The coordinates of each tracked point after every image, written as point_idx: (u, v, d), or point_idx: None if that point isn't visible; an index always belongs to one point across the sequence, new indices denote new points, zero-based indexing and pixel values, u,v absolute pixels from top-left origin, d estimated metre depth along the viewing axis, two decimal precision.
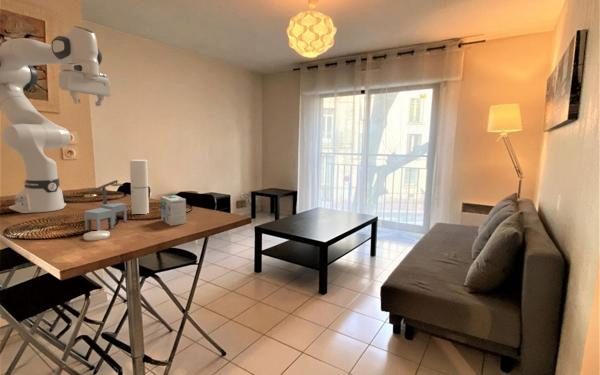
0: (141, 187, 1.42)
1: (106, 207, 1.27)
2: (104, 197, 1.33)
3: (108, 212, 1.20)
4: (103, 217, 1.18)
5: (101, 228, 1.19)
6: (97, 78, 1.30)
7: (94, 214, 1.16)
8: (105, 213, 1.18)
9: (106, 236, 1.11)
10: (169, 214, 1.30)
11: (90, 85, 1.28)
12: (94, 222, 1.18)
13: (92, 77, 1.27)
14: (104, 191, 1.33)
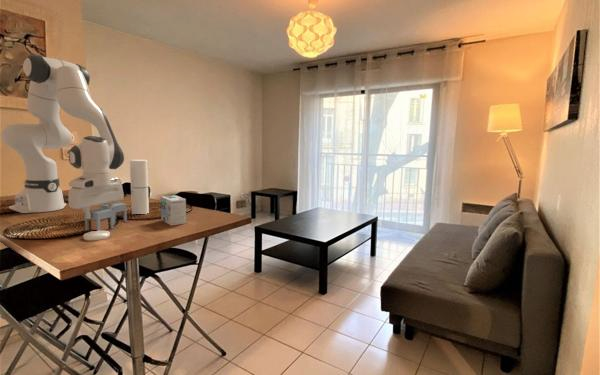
0: (141, 187, 1.42)
1: (106, 207, 1.27)
2: None
3: (108, 212, 1.20)
4: (103, 217, 1.18)
5: (101, 228, 1.19)
6: (109, 186, 1.21)
7: (94, 214, 1.16)
8: (105, 213, 1.18)
9: (106, 236, 1.11)
10: (169, 214, 1.30)
11: (101, 196, 1.18)
12: (94, 222, 1.18)
13: (104, 188, 1.17)
14: None
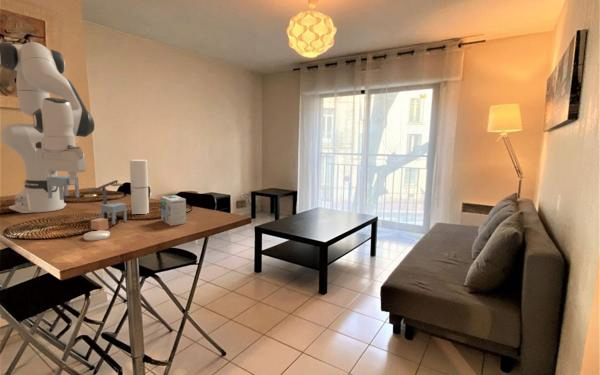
0: (141, 187, 1.42)
1: (106, 207, 1.27)
2: (104, 197, 1.33)
3: (55, 180, 1.10)
4: (51, 184, 1.11)
5: (101, 228, 1.19)
6: (62, 152, 1.09)
7: None
8: (53, 180, 1.10)
9: (106, 236, 1.11)
10: (169, 214, 1.30)
11: (56, 161, 1.10)
12: (94, 222, 1.18)
13: (51, 153, 1.09)
14: (104, 191, 1.33)
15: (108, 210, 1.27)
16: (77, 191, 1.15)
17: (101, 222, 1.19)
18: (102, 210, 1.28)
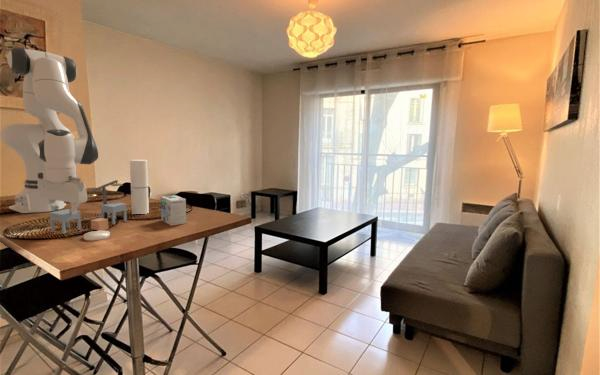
0: (141, 187, 1.42)
1: (106, 207, 1.27)
2: (104, 197, 1.33)
3: (58, 216, 1.12)
4: (54, 219, 1.13)
5: (101, 228, 1.19)
6: (63, 184, 1.11)
7: None
8: (56, 215, 1.12)
9: (106, 236, 1.11)
10: (169, 214, 1.30)
11: (57, 192, 1.12)
12: (94, 222, 1.18)
13: (53, 184, 1.10)
14: (104, 191, 1.33)
15: (108, 210, 1.27)
16: (79, 225, 1.18)
17: (101, 222, 1.19)
18: (102, 210, 1.28)
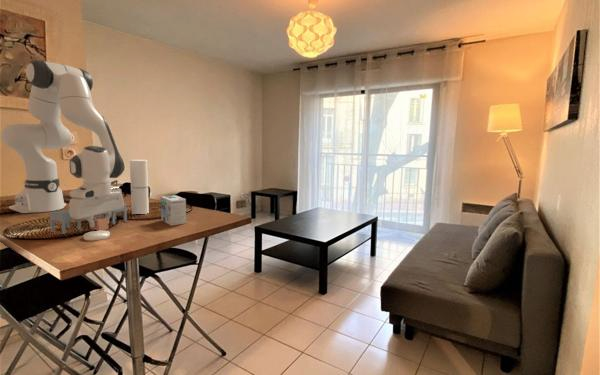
0: (141, 187, 1.42)
1: None
2: None
3: (58, 216, 1.12)
4: (54, 219, 1.13)
5: (101, 228, 1.19)
6: (109, 195, 1.21)
7: None
8: (56, 215, 1.12)
9: (106, 236, 1.11)
10: (169, 214, 1.30)
11: (102, 205, 1.19)
12: None
13: (104, 198, 1.18)
14: None
15: None
16: (79, 225, 1.18)
17: (101, 222, 1.19)
18: None
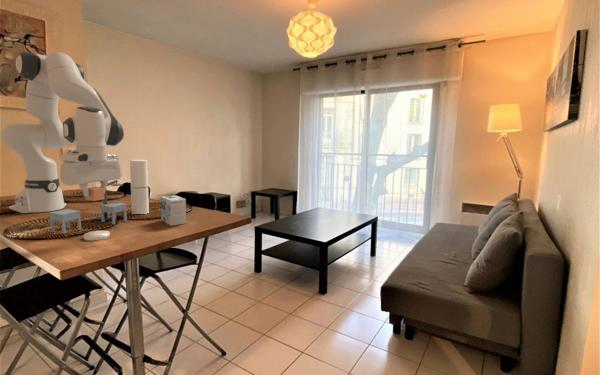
0: (141, 187, 1.42)
1: (106, 207, 1.27)
2: (104, 197, 1.33)
3: (58, 216, 1.12)
4: (54, 219, 1.13)
5: (96, 197, 1.08)
6: (105, 162, 1.10)
7: None
8: (56, 215, 1.12)
9: (106, 236, 1.11)
10: (169, 214, 1.30)
11: (97, 172, 1.08)
12: None
13: (99, 164, 1.07)
14: None
15: (108, 210, 1.27)
16: (79, 225, 1.18)
17: (96, 190, 1.08)
18: (102, 210, 1.28)
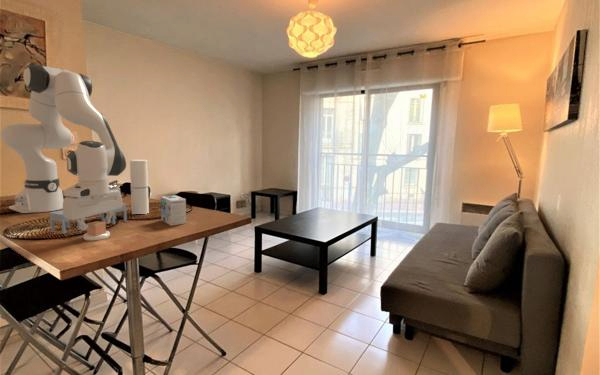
0: (141, 187, 1.42)
1: None
2: None
3: (58, 216, 1.12)
4: (54, 219, 1.13)
5: (98, 232, 1.10)
6: (107, 194, 1.12)
7: None
8: (56, 215, 1.12)
9: (106, 236, 1.11)
10: (169, 214, 1.30)
11: (99, 205, 1.10)
12: (90, 226, 1.09)
13: (101, 197, 1.09)
14: None
15: None
16: (79, 225, 1.18)
17: (98, 226, 1.10)
18: None
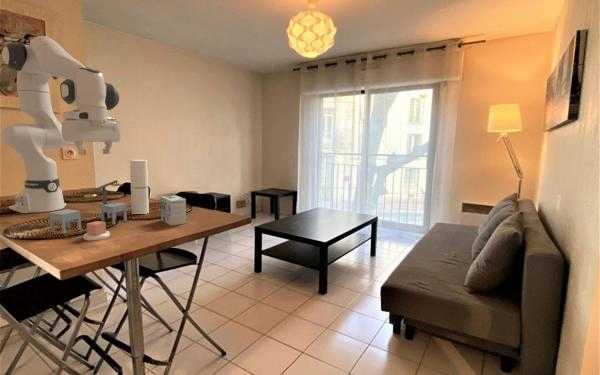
0: (141, 187, 1.42)
1: (106, 207, 1.27)
2: (104, 197, 1.33)
3: (58, 216, 1.12)
4: (54, 219, 1.13)
5: (98, 232, 1.10)
6: (105, 123, 1.14)
7: None
8: (56, 215, 1.12)
9: (106, 236, 1.11)
10: (169, 214, 1.30)
11: (97, 132, 1.12)
12: (90, 226, 1.09)
13: (99, 124, 1.11)
14: (104, 191, 1.33)
15: (108, 210, 1.27)
16: (79, 225, 1.18)
17: (98, 226, 1.10)
18: (102, 210, 1.28)
